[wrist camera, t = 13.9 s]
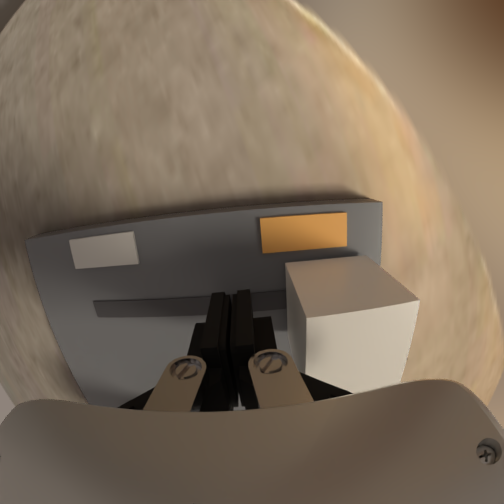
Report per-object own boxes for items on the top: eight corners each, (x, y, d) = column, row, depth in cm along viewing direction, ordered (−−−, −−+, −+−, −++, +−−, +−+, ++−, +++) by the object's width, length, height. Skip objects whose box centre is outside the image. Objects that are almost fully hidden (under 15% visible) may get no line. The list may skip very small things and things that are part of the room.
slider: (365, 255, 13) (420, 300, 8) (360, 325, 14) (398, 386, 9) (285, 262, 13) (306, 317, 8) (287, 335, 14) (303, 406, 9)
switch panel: (369, 198, 14) (384, 202, 12) (344, 427, 19) (349, 441, 17) (38, 234, 14) (22, 241, 12) (119, 431, 19) (114, 445, 18)
